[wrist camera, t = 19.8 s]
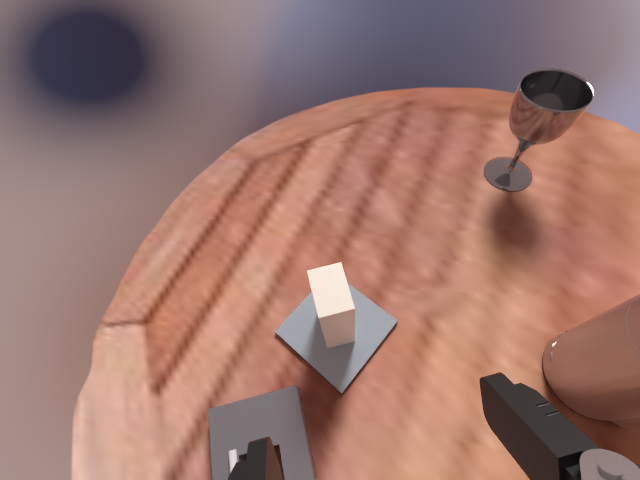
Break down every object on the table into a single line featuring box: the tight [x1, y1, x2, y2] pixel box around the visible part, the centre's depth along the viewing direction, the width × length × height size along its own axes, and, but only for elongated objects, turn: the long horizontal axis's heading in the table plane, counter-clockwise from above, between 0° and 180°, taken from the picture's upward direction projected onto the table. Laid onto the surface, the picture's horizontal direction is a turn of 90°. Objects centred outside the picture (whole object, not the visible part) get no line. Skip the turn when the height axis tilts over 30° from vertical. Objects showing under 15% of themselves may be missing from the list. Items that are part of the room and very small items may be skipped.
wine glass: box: [484, 69, 594, 191], centre depth 47 cm, size 8×8×15 cm
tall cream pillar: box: [307, 262, 355, 349], centre depth 38 cm, size 5×4×12 cm
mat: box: [275, 284, 397, 394], centre depth 43 cm, size 11×11×1 cm
